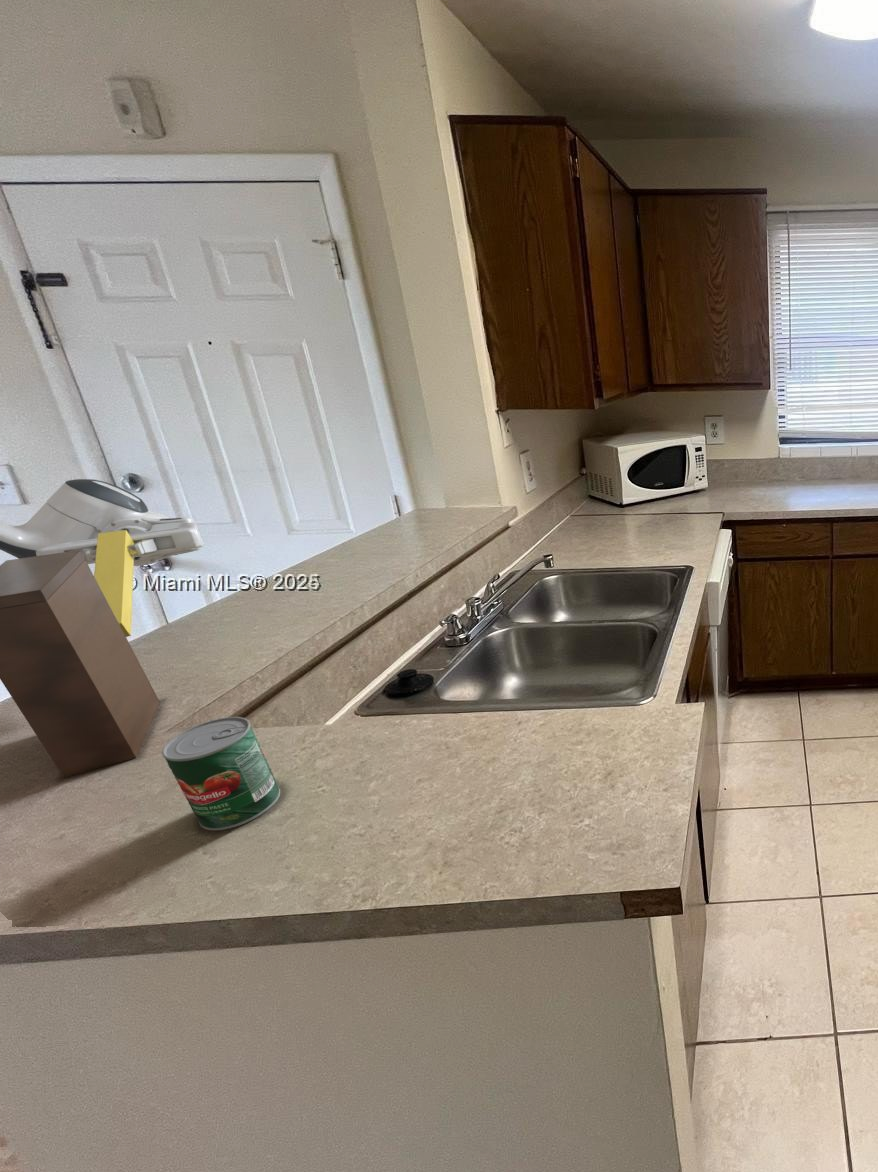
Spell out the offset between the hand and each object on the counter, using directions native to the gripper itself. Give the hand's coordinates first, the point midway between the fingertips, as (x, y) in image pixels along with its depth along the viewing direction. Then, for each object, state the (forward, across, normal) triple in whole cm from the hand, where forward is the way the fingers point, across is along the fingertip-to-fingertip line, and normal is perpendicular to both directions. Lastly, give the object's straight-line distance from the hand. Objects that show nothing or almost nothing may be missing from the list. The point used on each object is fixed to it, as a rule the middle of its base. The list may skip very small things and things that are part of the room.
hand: (114, 553), depth 104 cm
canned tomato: (+55, +14, +28) cm, 63 cm away
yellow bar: (+5, 0, +5) cm, 7 cm away
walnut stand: (+26, -1, +23) cm, 35 cm away
